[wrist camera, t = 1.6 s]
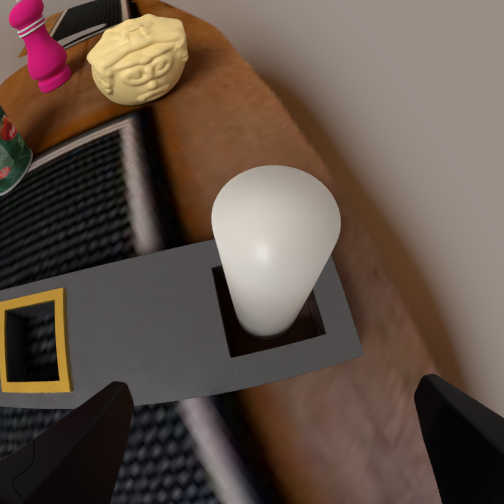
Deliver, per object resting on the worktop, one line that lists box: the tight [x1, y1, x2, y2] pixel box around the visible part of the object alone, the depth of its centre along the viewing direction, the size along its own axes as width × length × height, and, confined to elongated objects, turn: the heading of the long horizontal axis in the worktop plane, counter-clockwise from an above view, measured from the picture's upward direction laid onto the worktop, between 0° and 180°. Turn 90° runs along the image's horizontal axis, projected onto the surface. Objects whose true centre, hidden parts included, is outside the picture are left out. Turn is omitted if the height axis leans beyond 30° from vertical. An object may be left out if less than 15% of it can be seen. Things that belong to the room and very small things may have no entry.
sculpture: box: [87, 14, 188, 106], centre depth 28 cm, size 12×12×11 cm
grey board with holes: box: [0, 239, 364, 409], centre depth 19 cm, size 28×10×3 cm, turn 103°
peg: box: [212, 165, 341, 340], centre depth 15 cm, size 4×4×12 cm
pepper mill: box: [9, 0, 71, 93], centre depth 28 cm, size 7×7×20 cm
